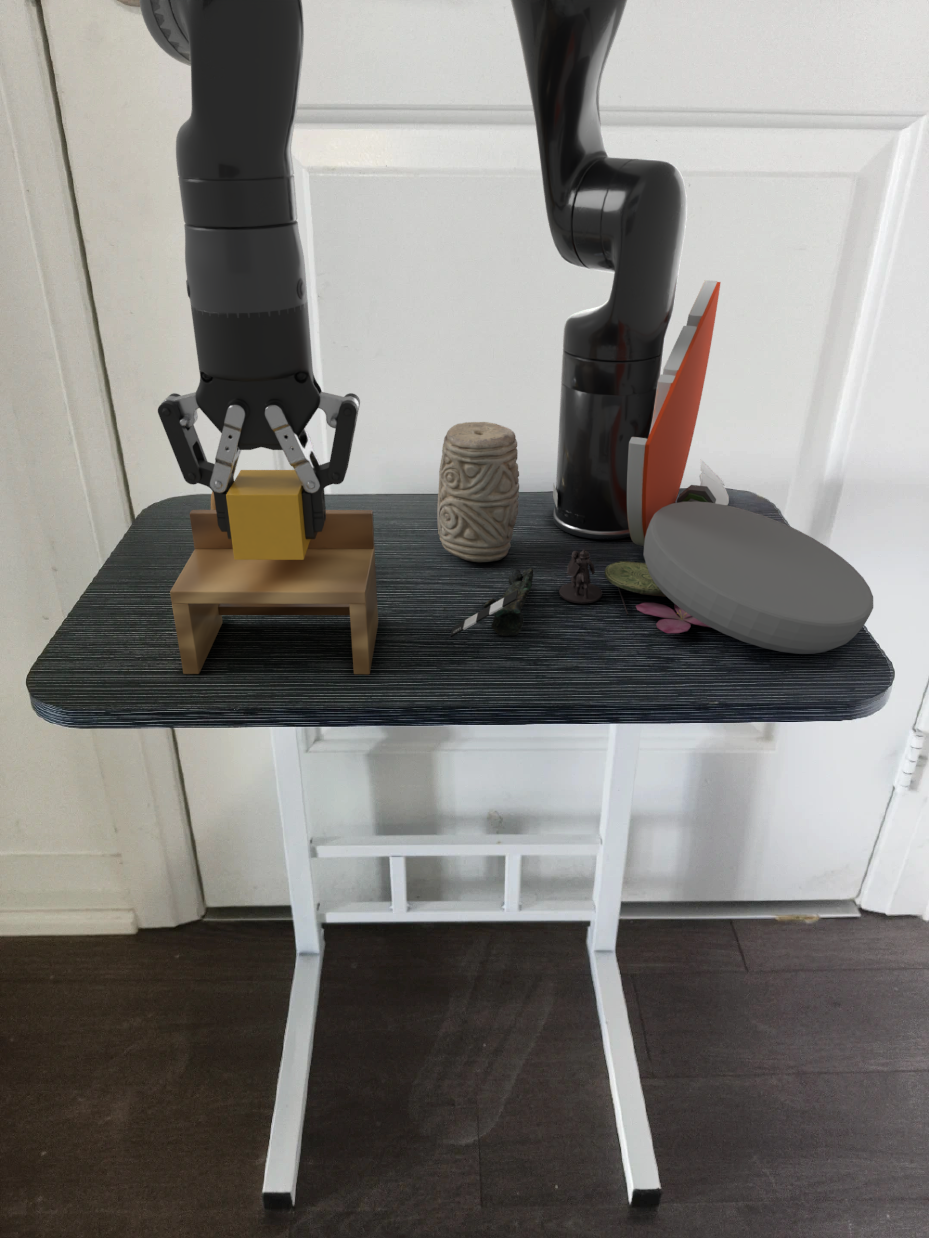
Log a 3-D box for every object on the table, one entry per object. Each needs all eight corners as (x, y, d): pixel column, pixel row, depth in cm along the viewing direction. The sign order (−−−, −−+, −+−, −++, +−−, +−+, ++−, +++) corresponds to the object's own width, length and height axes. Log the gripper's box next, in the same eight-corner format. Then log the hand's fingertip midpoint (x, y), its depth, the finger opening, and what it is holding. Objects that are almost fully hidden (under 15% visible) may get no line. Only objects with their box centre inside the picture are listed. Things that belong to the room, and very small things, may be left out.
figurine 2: (614, 572, 87) (618, 531, 85) (629, 615, 80) (633, 571, 78) (554, 572, 87) (556, 531, 85) (563, 615, 80) (566, 571, 78)
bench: (183, 674, 72) (163, 553, 68) (208, 622, 79) (191, 509, 75) (369, 674, 72) (363, 553, 68) (378, 622, 79) (372, 509, 75)
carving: (525, 564, 89) (529, 438, 83) (445, 571, 87) (443, 444, 81) (508, 536, 94) (511, 416, 88) (432, 543, 93) (430, 421, 87)
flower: (650, 596, 84) (651, 586, 84) (742, 615, 81) (744, 604, 80) (618, 629, 78) (618, 619, 78) (716, 651, 74) (717, 640, 74)
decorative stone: (629, 483, 83) (610, 533, 86) (685, 598, 68) (660, 655, 70) (821, 524, 87) (797, 571, 89) (916, 641, 71) (884, 694, 74)
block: (234, 559, 69) (225, 494, 67) (247, 531, 74) (240, 469, 71) (303, 560, 69) (297, 494, 67) (313, 531, 74) (308, 469, 71)
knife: (725, 495, 108) (686, 472, 108) (746, 464, 106) (706, 441, 106) (698, 576, 89) (651, 549, 90) (722, 541, 87) (674, 513, 87)
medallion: (634, 599, 79) (635, 590, 79) (587, 566, 85) (589, 558, 85) (714, 597, 82) (716, 589, 82) (663, 566, 89) (664, 558, 88)
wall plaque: (705, 277, 94) (628, 442, 74) (721, 279, 94) (648, 445, 74) (684, 439, 107) (615, 616, 87) (699, 441, 107) (632, 620, 87)
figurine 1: (450, 636, 75) (470, 559, 85) (481, 672, 76) (498, 592, 86) (515, 598, 72) (529, 524, 82) (546, 636, 74) (556, 558, 84)
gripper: (364, 286, 66) (375, 516, 74) (155, 286, 66) (189, 515, 74) (353, 308, 60) (366, 557, 68) (121, 308, 60) (162, 557, 68)
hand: (273, 534), depth 71 cm, fingers closed on block, 5 cm apart
